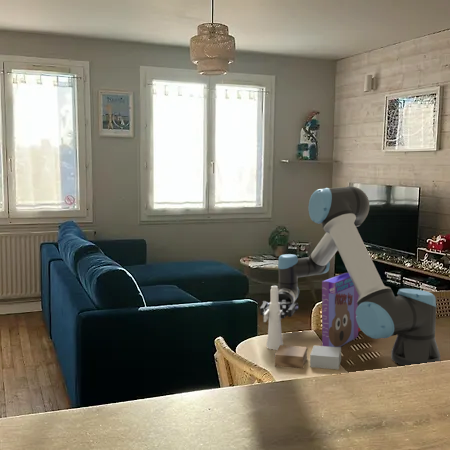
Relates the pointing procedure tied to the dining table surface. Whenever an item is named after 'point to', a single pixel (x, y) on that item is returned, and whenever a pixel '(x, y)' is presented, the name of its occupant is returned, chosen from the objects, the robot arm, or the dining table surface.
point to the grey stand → (325, 357)
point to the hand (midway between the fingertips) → (271, 318)
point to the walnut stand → (291, 356)
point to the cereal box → (339, 311)
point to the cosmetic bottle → (274, 321)
